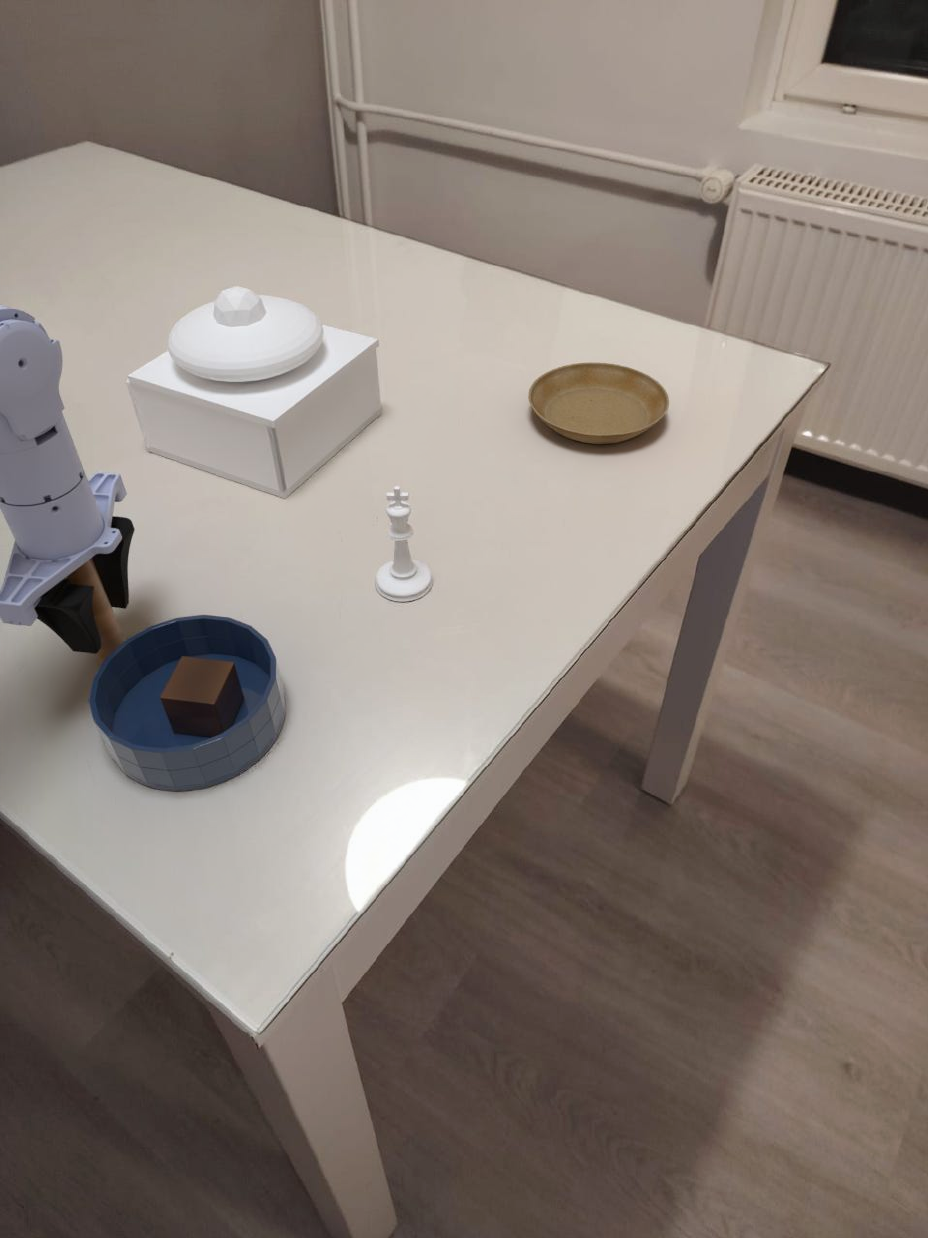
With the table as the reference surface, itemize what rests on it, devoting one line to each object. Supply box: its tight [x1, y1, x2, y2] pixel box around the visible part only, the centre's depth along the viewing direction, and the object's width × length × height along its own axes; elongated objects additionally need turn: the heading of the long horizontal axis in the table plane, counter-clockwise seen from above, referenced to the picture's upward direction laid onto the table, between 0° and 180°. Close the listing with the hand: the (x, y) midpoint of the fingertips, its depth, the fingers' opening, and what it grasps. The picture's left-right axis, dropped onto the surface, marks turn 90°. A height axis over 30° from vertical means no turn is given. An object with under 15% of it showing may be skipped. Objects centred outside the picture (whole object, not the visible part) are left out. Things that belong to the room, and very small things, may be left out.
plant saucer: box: [527, 362, 670, 445], centre depth 92 cm, size 15×15×3 cm
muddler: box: [65, 558, 126, 665], centre depth 65 cm, size 2×2×11 cm
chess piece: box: [374, 485, 434, 603], centre depth 71 cm, size 5×5×10 cm
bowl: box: [88, 614, 286, 792], centre depth 63 cm, size 13×13×4 cm
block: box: [160, 656, 244, 738], centre depth 62 cm, size 4×4×4 cm
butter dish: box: [125, 285, 382, 500], centre depth 86 cm, size 18×18×16 cm
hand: (101, 626), depth 66 cm, fingers open, 4 cm apart
